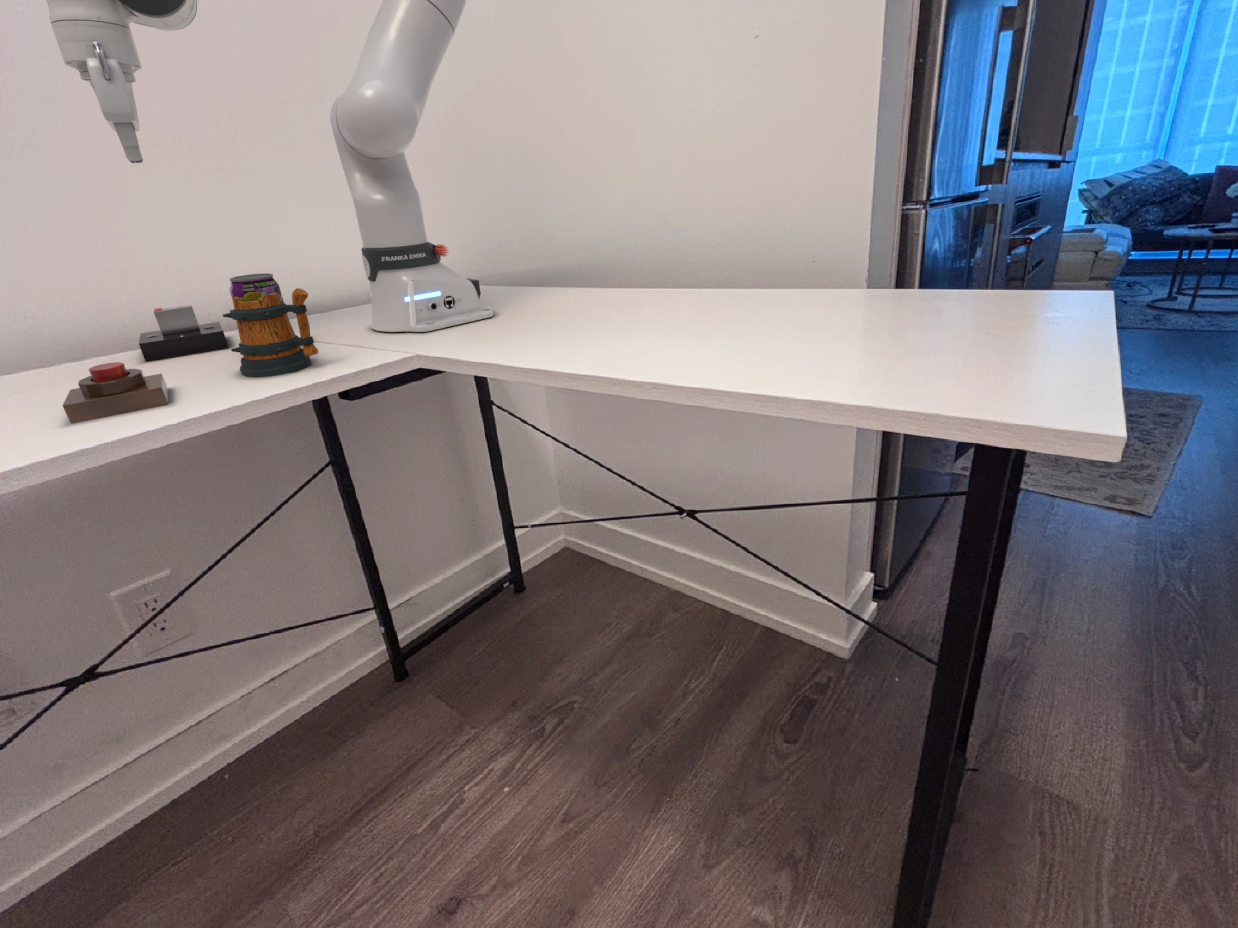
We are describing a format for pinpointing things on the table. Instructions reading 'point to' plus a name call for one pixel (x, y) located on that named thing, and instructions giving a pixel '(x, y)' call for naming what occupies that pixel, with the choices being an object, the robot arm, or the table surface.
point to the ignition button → (108, 371)
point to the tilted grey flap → (176, 320)
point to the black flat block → (182, 342)
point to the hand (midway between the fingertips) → (136, 161)
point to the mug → (271, 334)
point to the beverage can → (254, 285)
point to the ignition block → (115, 396)
